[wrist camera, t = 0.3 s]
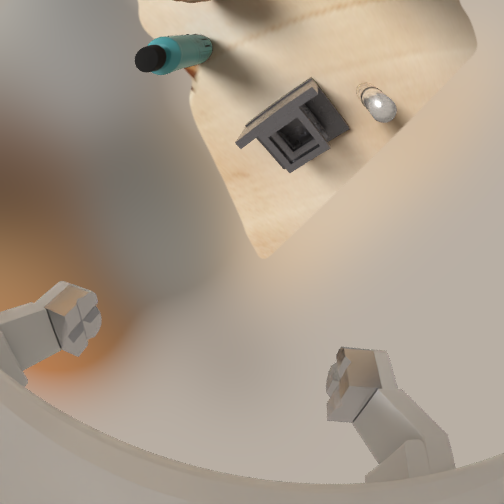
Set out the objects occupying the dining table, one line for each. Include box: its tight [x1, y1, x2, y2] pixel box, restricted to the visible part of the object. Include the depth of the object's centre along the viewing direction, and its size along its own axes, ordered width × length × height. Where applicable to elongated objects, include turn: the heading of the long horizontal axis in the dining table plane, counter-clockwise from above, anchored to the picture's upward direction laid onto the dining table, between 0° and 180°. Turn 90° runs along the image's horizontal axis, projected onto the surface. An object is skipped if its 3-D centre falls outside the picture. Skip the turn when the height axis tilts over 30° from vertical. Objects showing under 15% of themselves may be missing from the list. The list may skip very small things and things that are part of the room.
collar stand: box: [235, 78, 350, 173], centre depth 47 cm, size 16×12×10 cm
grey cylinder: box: [356, 82, 397, 123], centre depth 38 cm, size 4×4×14 cm
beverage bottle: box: [135, 34, 213, 75], centre depth 36 cm, size 6×7×20 cm
